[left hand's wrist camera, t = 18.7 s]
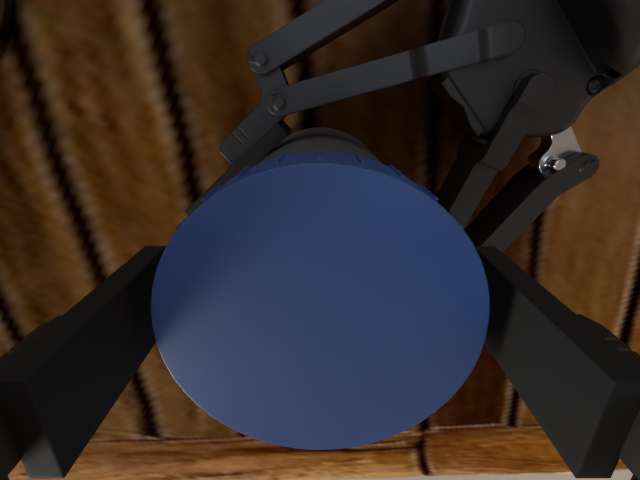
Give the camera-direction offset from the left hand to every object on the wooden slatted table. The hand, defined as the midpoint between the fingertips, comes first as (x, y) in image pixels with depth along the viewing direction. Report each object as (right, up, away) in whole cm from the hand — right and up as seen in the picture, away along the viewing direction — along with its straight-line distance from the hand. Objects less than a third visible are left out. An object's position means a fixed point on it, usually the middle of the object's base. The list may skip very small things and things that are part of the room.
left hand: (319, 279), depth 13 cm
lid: (0, -1, -3) cm, 3 cm away
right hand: (-3, 0, +7) cm, 8 cm away
